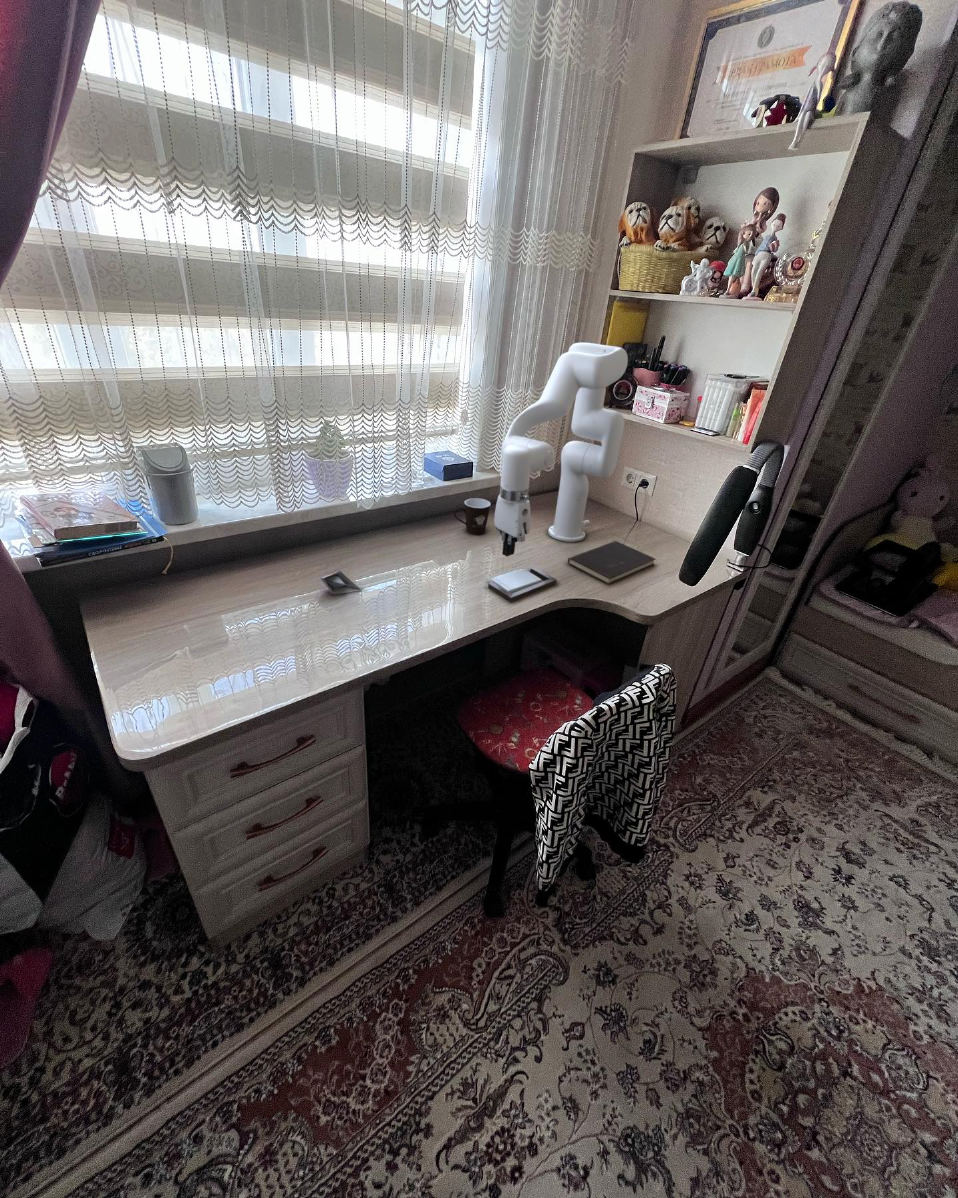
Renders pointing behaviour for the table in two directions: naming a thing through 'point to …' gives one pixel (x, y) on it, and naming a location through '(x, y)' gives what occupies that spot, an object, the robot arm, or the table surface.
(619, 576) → the hardcover book
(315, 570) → the table surface
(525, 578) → the hard drive
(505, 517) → the robot arm
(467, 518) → the coffee mug
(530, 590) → the dark brown open frame
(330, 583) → the paper boat
